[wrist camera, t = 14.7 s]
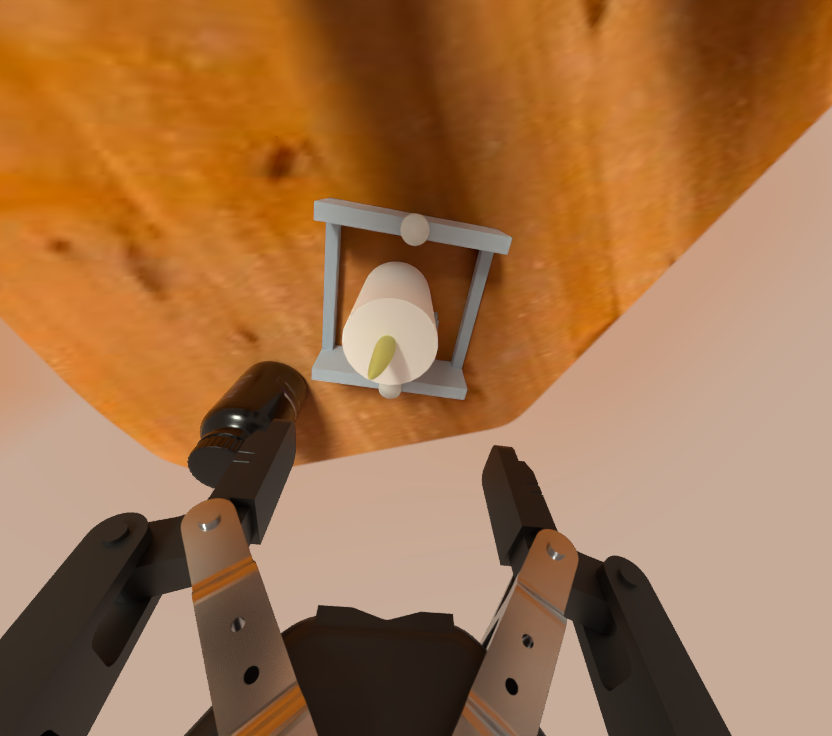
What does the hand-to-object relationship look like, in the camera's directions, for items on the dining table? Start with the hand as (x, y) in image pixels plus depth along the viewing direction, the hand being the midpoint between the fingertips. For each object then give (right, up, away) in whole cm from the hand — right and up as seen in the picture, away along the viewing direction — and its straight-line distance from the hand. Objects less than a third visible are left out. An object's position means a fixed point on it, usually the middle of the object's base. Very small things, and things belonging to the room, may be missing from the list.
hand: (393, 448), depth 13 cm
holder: (0, +10, +17) cm, 20 cm away
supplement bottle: (-14, +1, +22) cm, 26 cm away
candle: (-1, +10, +17) cm, 20 cm away
